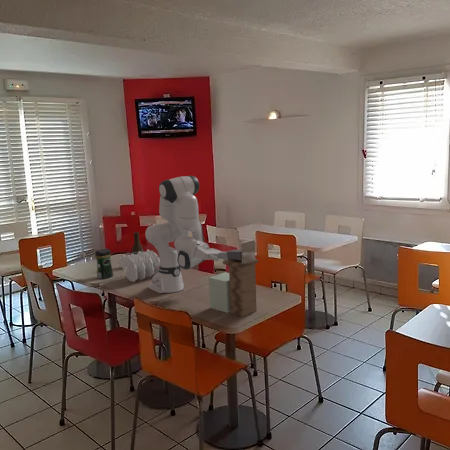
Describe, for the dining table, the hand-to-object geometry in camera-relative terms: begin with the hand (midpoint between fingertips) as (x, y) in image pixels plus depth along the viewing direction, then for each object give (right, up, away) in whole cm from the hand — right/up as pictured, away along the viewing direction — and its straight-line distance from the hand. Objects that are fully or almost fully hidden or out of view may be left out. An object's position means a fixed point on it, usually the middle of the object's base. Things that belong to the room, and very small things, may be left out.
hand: (222, 259), depth 236 cm
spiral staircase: (-51, -17, +56) cm, 78 cm away
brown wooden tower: (+10, -25, -9) cm, 28 cm away
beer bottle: (-59, -11, +88) cm, 106 cm away
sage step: (+2, -24, -1) cm, 24 cm away
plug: (+4, +1, -9) cm, 10 cm away
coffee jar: (-77, -16, +63) cm, 100 cm away
